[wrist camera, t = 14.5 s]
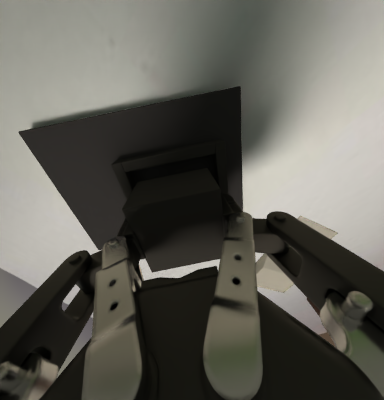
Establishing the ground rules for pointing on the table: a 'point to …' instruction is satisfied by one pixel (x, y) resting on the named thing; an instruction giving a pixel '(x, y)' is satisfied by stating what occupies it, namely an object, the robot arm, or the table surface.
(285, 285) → the beige piece
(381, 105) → the table surface
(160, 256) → the black square block
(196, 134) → the base pad
